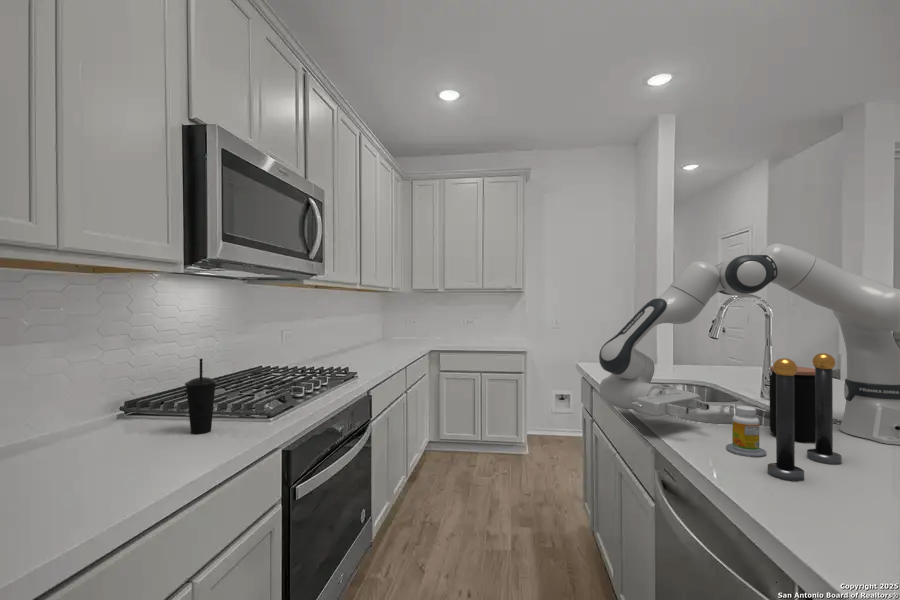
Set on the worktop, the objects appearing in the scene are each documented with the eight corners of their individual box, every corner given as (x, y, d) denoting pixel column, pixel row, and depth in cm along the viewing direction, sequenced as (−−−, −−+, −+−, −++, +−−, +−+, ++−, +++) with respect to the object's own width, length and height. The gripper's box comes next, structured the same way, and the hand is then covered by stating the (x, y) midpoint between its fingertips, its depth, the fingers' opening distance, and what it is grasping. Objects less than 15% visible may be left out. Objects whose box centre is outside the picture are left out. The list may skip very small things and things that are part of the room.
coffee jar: (812, 433, 122) (811, 366, 122) (827, 445, 112) (827, 372, 112) (764, 429, 126) (764, 364, 126) (776, 440, 116) (776, 370, 116)
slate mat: (764, 449, 109) (764, 446, 109) (768, 459, 102) (768, 456, 102) (725, 444, 113) (725, 441, 113) (726, 453, 106) (726, 451, 106)
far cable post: (837, 458, 103) (837, 352, 103) (844, 466, 98) (844, 355, 98) (804, 453, 106) (804, 351, 106) (809, 461, 101) (809, 353, 101)
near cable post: (801, 473, 94) (800, 357, 94) (806, 483, 89) (806, 360, 89) (765, 468, 97) (765, 355, 97) (769, 477, 92) (768, 359, 92)
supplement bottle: (728, 444, 111) (728, 404, 111) (752, 445, 110) (752, 405, 110) (738, 451, 106) (738, 410, 106) (763, 453, 105) (764, 411, 105)
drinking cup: (183, 430, 125) (184, 358, 125) (214, 426, 130) (215, 356, 130) (185, 437, 119) (185, 361, 119) (218, 432, 123) (218, 359, 123)
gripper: (626, 391, 124) (673, 401, 112) (671, 384, 135) (719, 393, 123) (626, 414, 124) (673, 426, 112) (671, 406, 135) (719, 416, 123)
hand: (697, 409), depth 118 cm, fingers open, 8 cm apart
